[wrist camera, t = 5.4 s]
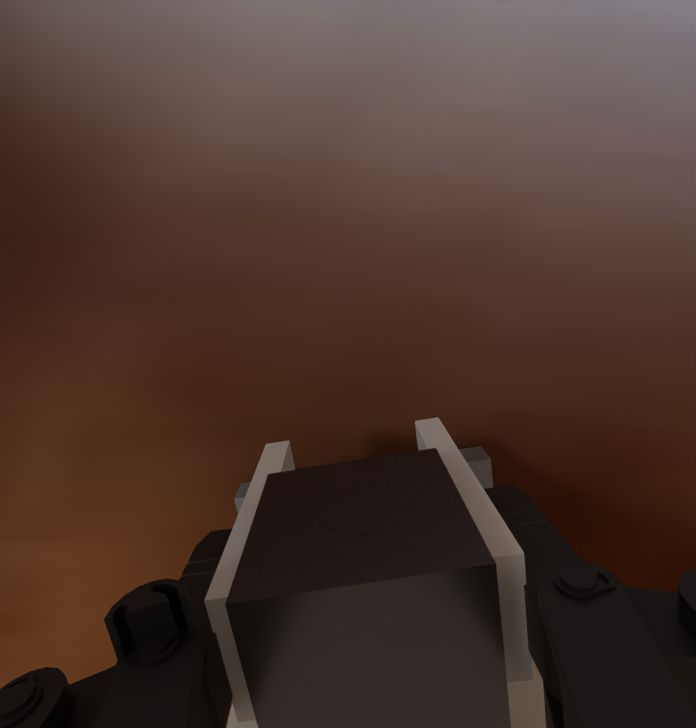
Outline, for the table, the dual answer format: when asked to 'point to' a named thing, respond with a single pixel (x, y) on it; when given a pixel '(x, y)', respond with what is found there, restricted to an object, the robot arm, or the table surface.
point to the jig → (521, 695)
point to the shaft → (369, 601)
